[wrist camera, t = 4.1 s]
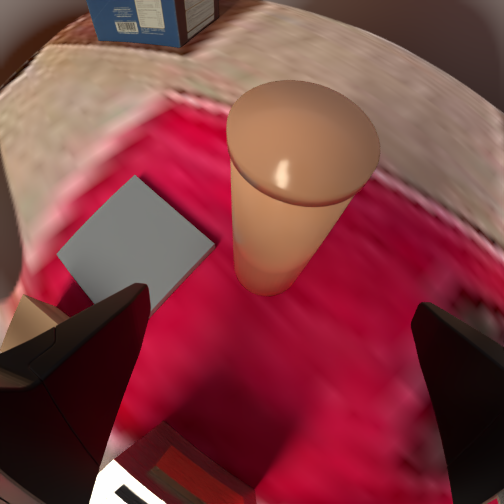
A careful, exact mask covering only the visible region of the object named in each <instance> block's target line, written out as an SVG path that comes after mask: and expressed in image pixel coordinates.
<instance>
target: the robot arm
mask: <svg viewBox="0 0 504 504" xmlns="http://www.w3.org/2000/svg"><path fill="white" fill-rule="evenodd" d="M150 312H151V303H150V294H149V287H148V285H147V284H144V283H133V284H132V285H130V286H128V287H126V288H124V289H122V290H120V291H118V292H117V293H115V294H113V295H111V296H109V297H107V298H105V299H104V300H102V301H100V302H98V303H96V304H94V305H92V306H91V307H89V308H87V309H85V310H83V311H81V312H80V313H78V314H76V315H74V316H72V317H70V318H69V319H67V320H65V321H63V322H61V323H60V324H58V325H56V328H55V327H52V328H51V329H49V330H47V331H45V332H43V333H42V334H40V335H38V336H36V337H34V338H32V339H30V340H28V341H26V342H24V343H22V344H20V345H18V346H15V347H13V348H11V349H9V350H7V351H5V352H3V353H0V504H90V500H91V496H92V493H93V489H94V486H95V482H96V479H97V475H98V472H99V469H100V467H99V466H100V465H101V461H102V458H103V455H104V452H105V449H106V446H107V442H108V439H109V436H110V433H111V430H112V427H113V424H114V421H115V418H116V416H117V413H118V410H119V407H120V404H121V401H122V399H123V396H124V393H125V390H126V387H127V385H128V382H129V379H130V377H131V374H132V371H133V369H134V366H135V364H136V361H137V358H138V356H139V353H140V350H141V346H142V342H143V338H144V334H145V331H146V327H147V323H148V319H149V316H150ZM411 329H412V333H413V337H414V341H415V346H416V350H417V354H418V359H419V363H420V366H421V369H422V372H423V375H424V379H425V382H426V385H427V388H428V392H429V395H430V398H431V402H432V405H433V409H434V413H435V416H436V420H437V424H438V428H439V432H440V436H441V440H442V445H443V449H444V454H445V459H446V463H447V469H448V475H449V480H450V486H451V492H452V499H453V504H487V503H489V502H490V501H492V500H494V499H496V498H497V500H498V503H499V504H504V347H502V346H501V345H500V344H498V343H497V342H495V341H494V340H492V339H490V338H489V337H487V336H486V335H484V334H482V333H481V332H479V331H478V330H476V329H474V328H473V327H471V326H469V325H468V324H466V323H464V322H463V321H461V320H459V319H458V318H456V317H454V316H453V315H451V314H449V313H448V312H446V311H444V310H443V309H441V308H439V307H438V306H436V305H434V304H432V303H430V302H421V303H420V304H419V305H418V307H417V310H416V312H415V314H414V317H413V319H412V322H411Z"/></svg>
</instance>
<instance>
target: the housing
mask: <svg viewBox="0 0 504 504" xmlns="http://www.w3.org/2000/svg"><path fill="white" fill-rule="evenodd" d="M90 504H256V497H255V490H254V489H253V488H251V487H250V486H248V485H247V484H245V483H244V482H242V481H241V480H239V479H238V478H236V477H235V476H233V475H232V474H230V473H229V472H228V471H226V470H225V469H223V468H222V467H221V466H219V465H218V464H217V463H215V462H214V461H212V460H211V459H210V458H209V457H207V456H206V455H205V454H203V453H202V452H201V451H199V450H198V449H197V448H196V447H194V446H193V445H192V444H191V443H189V442H188V441H187V440H186V439H185V438H183V437H182V436H181V435H180V434H179V433H178V432H176V431H175V430H174V429H173V428H172V427H171V426H169V425H168V424H167V423H166V422H165V421H162V422H161V423H160V424H159V425H157V426H156V427H155V428H154V429H152V430H151V431H150V432H149V433H147V434H146V435H145V436H144V437H142V438H141V439H140V440H138V441H137V442H136V443H135V444H133V445H132V446H131V447H129V448H128V449H127V450H125V451H124V452H123V453H122V454H120V455H119V456H118V457H116V458H115V459H114V460H112V461H111V462H110V463H109V464H108V465H107V466H106V467H105V468H104V469H103V470H102V471H101V472H100V473H99V474H98V475H97V479H96V482H95V486H94V489H93V493H92V496H91V500H90Z"/></svg>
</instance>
